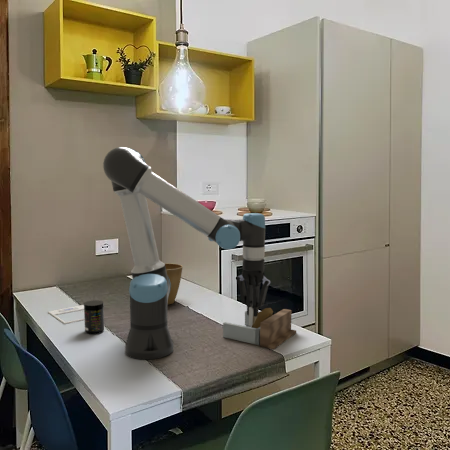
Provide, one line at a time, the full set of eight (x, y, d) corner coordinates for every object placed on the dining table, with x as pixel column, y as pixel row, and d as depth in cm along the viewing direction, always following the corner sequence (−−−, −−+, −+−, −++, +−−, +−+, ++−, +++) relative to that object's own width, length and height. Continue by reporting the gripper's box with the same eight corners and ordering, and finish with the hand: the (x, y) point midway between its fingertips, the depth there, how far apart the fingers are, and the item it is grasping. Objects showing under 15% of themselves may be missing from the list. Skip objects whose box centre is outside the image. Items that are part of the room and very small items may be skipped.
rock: (254, 337, 156) (279, 330, 160) (246, 312, 159) (272, 306, 163) (242, 343, 165) (266, 337, 170) (235, 319, 168) (259, 313, 172)
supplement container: (108, 331, 168) (107, 302, 166) (92, 336, 162) (91, 306, 161) (96, 327, 172) (96, 299, 171) (80, 331, 167) (79, 303, 165)
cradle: (259, 345, 155) (259, 330, 154) (223, 337, 162) (223, 322, 162) (280, 330, 169) (280, 317, 168) (246, 323, 176) (246, 310, 175)
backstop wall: (273, 349, 151) (274, 325, 150) (259, 346, 154) (260, 322, 153) (296, 333, 166) (296, 311, 165) (283, 330, 169) (283, 308, 168)
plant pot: (189, 302, 203) (189, 266, 201) (161, 309, 193) (161, 271, 191) (168, 295, 214) (168, 261, 212) (141, 302, 204) (140, 265, 202)
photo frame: (83, 304, 198) (101, 314, 184) (83, 307, 198) (101, 317, 184) (47, 311, 188) (64, 322, 175) (47, 313, 189) (64, 325, 175)
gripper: (275, 258, 162) (273, 325, 165) (242, 254, 169) (241, 318, 171) (265, 262, 156) (264, 331, 158) (231, 258, 162) (231, 324, 165)
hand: (252, 324), depth 165 cm, fingers closed
